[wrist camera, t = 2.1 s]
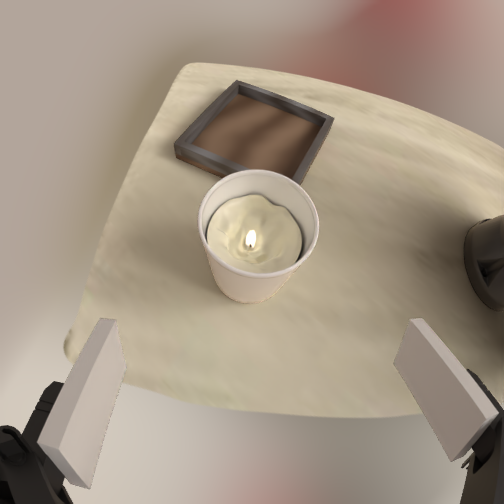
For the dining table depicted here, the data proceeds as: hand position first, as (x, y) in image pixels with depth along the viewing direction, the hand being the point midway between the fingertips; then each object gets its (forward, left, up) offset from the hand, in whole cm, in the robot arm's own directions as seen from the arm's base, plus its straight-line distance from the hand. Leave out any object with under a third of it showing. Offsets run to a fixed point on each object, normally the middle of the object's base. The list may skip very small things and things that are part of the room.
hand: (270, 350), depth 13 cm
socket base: (+13, -28, -20) cm, 37 cm away
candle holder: (+5, -10, -20) cm, 23 cm away
